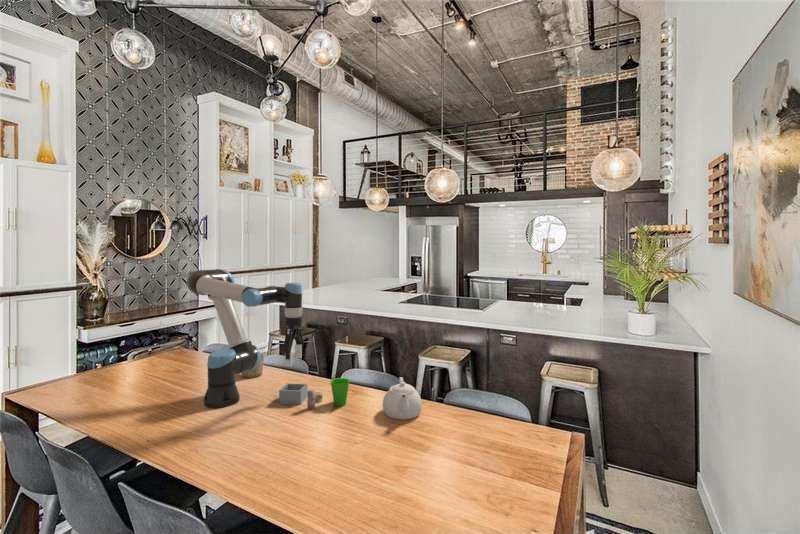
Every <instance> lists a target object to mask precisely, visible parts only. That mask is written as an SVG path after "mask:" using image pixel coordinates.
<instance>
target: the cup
mask: <svg viewBox="0 0 800 534" xmlns="http://www.w3.org/2000/svg"><path fill="white" fill-rule="evenodd" d="M350 382H351V379H349V378H347V377H337V378H331V380H330V381H329V383H330V386H331V392H332V398H333V404H334V406H335V407H338V408H340V407H344V406H345V405H346V403H347V396H348V392H349V385H350Z"/></svg>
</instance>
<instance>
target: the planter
mask: <svg viewBox="0 0 800 534" xmlns="http://www.w3.org/2000/svg"><path fill="white" fill-rule="evenodd" d="M264 360H265V356H264V355H263V354H261V360H260V362H259V364H258V366H257V367H255V368H254V369H252V370H250V371H246V372H243V373H241V376H242V377H243V378H245V377H246V378H247V379H253V378H252V377H254V378H258V377H260V375H261V376H262V375H263V370H264Z"/></svg>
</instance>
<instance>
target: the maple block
mask: <svg viewBox="0 0 800 534" xmlns="http://www.w3.org/2000/svg"><path fill="white" fill-rule="evenodd" d="M322 401H323V392H322V391H320V392H316V391H315V403H316V402H322Z"/></svg>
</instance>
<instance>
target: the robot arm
mask: <svg viewBox="0 0 800 534" xmlns="http://www.w3.org/2000/svg"><path fill="white" fill-rule="evenodd" d="M186 287H187V289H188V290H189V291H190V292H191V293H193V294H195V295H199V296H207V298H208V300H211V301H212V302H213V305H214V307H215V310H216V313H217V315H218V316H217V317H218V318H219V322H220V325H221V327H222V330H223V333H224V336H225V338H226V341H227V344H228V346H227V348H224V349H218V350H215V351H213V352H211V353H210V354H209V355H208V357H207V363H206V365H207V388H206V392H205V395H204V397H203V406H204V407H205V408H206V407H207V408H209V409H212V408H213V409H215V408H216V409H217V408H218V409H219V408H225V407H231V406H233V405H236V404H237V403H239V401H240V400H241V399H240V392H239V389H238V387H237V385H236V376H237V375H241V374H242V373H243V372H246V371H250V370H252V369H254V368H255V367H257V366H258V364H259V362H260V360H261V355H262V354H261V353H262V352H261V349H260V348H259V347H258V346H257V345H255V344H253V343H252V340H251V339H248V338H247V335H246V334H245V331H244V328H243V325H242V323H241V320H240V317H239V314H238V312H237V309H236V307H235V303H234V301H235V302H239V303H242V304H244V306H246V307H248V308H249V307H254V308H255V307H257V306H258V307H259V306H263V305H269V304H275V303H277V304H278V303H279V304H285V305H284V306H285V307H284V316H285V319H284V322H285V323H284V325H285V326H287V327H288V329H287V328H286V329H285V335H284V343H283V349H282V352H283V353H284V362H285V363H284V366H285V367H292V366H293V364H292V363H293V360H292V359H293V358H292V357H293V356H292V355H293V351H292V348H293V344H294V342H295V359H302V356H303V354H302V352H303V351H302V348H303V347H302V346H303V345H304V337H303V332H302V324H303V317H302V315H303V311H304V309H303V288H302V287H303V285H302V283H299V282H287V283H285V284H284V286H275V285H268V286H265V287H257V288H256V287H253V286H247V285H243V284H239V283H235V279H234V277H233V275H232V274H231V272H230V271H228V270H226V269H220V268H215V269H199V270H195V271H194V272H191V273H190V274H189V276H188V277H187V279H186Z"/></svg>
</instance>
